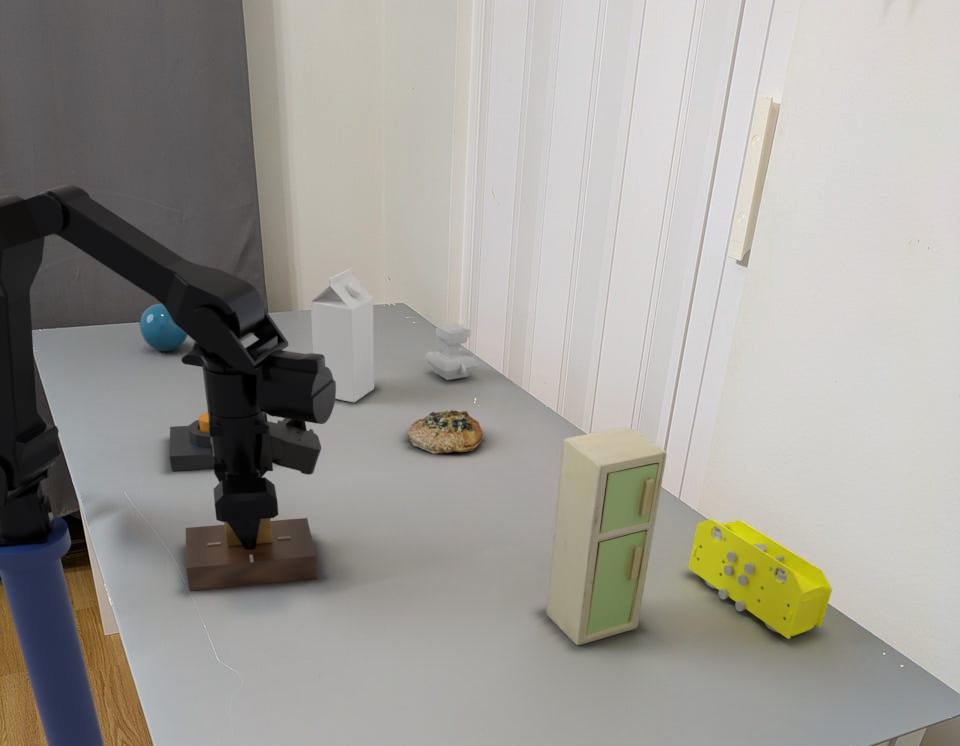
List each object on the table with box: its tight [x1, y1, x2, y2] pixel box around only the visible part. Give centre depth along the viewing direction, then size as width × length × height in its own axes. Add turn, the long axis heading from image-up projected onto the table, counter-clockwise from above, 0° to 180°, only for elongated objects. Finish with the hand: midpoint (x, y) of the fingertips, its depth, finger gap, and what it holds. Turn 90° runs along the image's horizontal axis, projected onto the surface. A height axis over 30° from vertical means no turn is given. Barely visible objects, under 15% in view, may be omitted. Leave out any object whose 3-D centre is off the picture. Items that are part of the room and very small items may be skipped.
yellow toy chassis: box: [688, 518, 833, 640], centre depth 105 cm, size 16×6×8 cm, turn 31°
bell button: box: [198, 412, 210, 433], centre depth 131 cm, size 4×4×2 cm
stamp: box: [425, 322, 479, 381], centre depth 160 cm, size 9×7×8 cm
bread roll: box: [407, 409, 484, 454], centre depth 139 cm, size 11×11×5 cm
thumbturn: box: [223, 518, 272, 546], centre depth 107 cm, size 5×2×4 cm, turn 105°
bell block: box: [169, 419, 214, 472], centre depth 132 cm, size 12×10×4 cm
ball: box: [139, 303, 188, 352], centre depth 164 cm, size 8×8×8 cm
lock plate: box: [184, 517, 318, 592], centre depth 109 cm, size 14×9×3 cm, turn 105°
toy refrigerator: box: [546, 426, 667, 646], centre depth 97 cm, size 8×7×21 cm
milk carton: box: [310, 267, 375, 403], centre depth 149 cm, size 7×7×19 cm
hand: (249, 537), depth 107 cm, fingers open, 5 cm apart
